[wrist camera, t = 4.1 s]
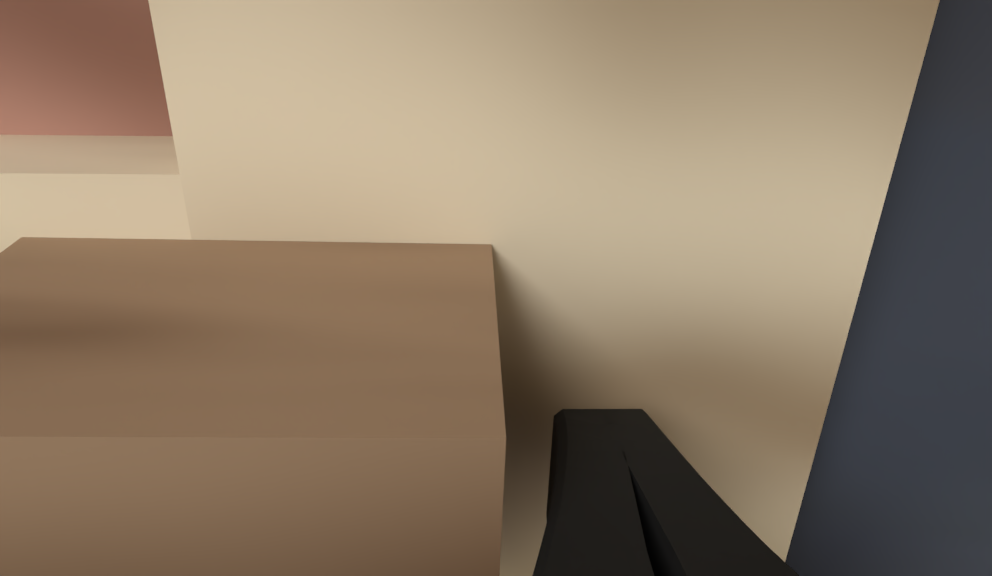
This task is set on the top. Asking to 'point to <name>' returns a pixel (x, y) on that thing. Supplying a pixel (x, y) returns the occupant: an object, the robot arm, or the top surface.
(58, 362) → the walnut block
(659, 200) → the trap deck
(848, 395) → the top surface
